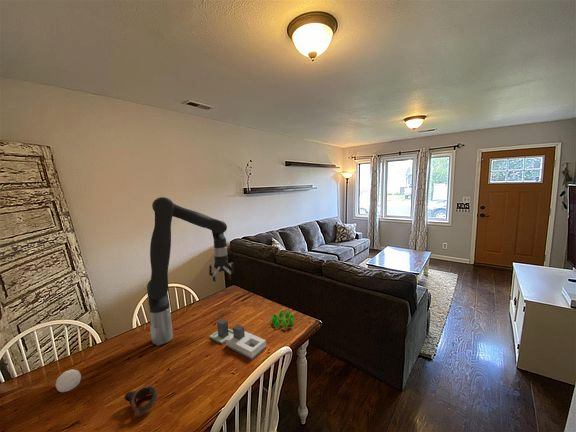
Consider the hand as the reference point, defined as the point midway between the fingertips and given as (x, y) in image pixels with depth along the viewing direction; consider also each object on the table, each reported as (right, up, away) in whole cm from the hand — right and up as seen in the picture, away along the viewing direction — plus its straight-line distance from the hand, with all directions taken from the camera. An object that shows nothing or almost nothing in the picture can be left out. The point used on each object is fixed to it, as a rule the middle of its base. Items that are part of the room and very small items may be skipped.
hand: (222, 280), depth 145 cm
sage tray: (+4, -26, -14) cm, 30 cm away
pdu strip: (+18, -27, -24) cm, 40 cm away
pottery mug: (-16, -33, -53) cm, 65 cm away
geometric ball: (-50, -33, -46) cm, 75 cm away
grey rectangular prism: (+4, -26, -14) cm, 30 cm away
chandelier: (+36, -24, -3) cm, 43 cm away
